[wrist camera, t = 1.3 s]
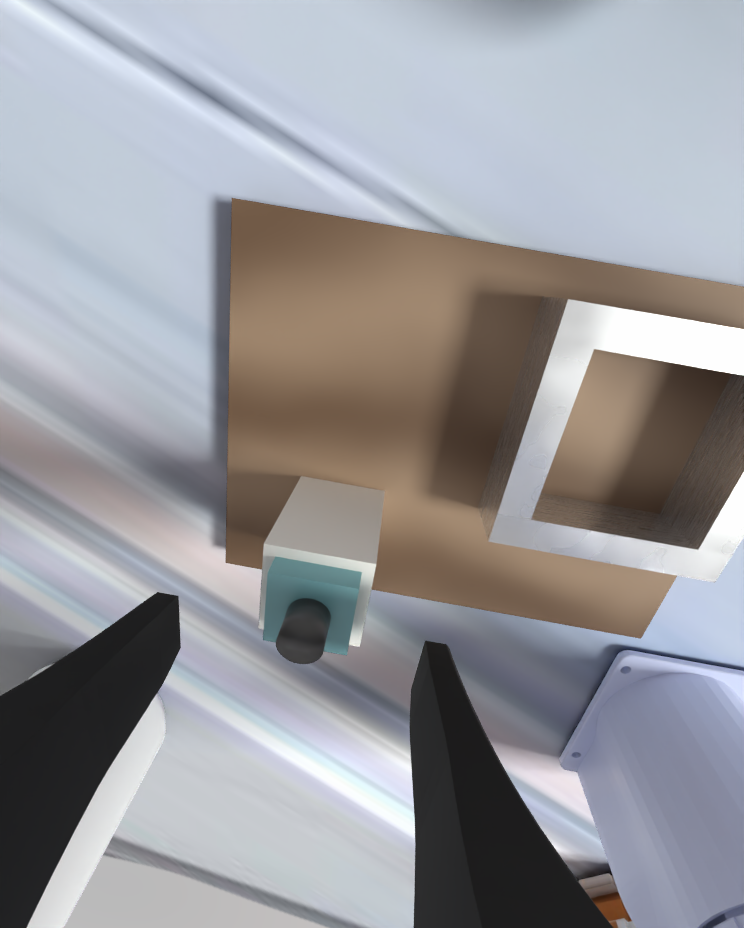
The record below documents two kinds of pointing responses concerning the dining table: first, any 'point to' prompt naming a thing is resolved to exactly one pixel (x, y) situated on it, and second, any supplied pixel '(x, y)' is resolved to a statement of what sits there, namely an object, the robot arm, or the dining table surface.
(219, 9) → the dining table surface
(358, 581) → the connector plug
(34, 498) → the dining table surface
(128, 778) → the alcohol
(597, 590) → the board
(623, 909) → the caramel apple
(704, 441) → the end holder
